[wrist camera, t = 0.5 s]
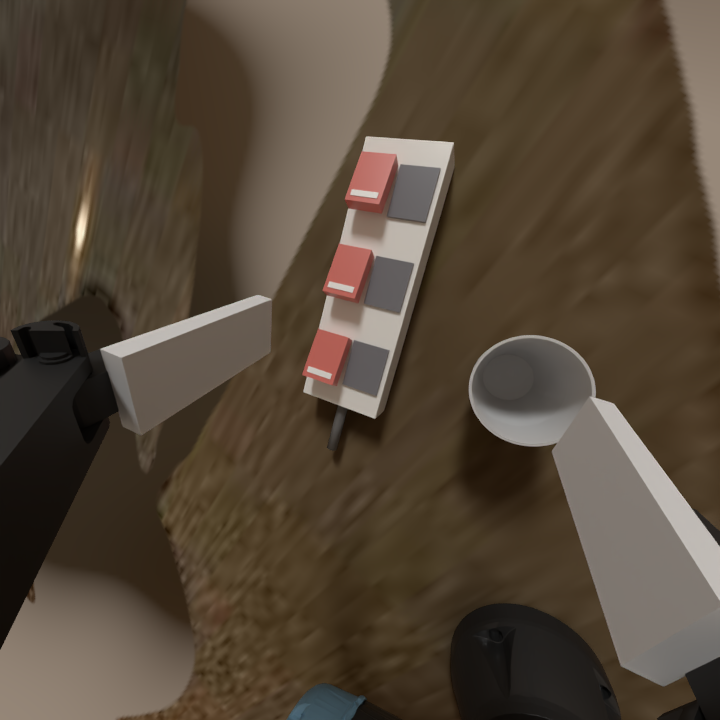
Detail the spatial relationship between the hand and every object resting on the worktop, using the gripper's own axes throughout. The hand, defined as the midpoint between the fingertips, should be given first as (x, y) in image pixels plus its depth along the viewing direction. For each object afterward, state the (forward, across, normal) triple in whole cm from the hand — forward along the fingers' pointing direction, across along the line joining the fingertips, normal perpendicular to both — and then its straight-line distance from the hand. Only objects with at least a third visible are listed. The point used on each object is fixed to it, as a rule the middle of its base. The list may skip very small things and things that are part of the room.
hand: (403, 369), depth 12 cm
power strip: (+22, +7, +6) cm, 24 cm away
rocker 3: (+15, +9, +10) cm, 20 cm away
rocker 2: (+18, +10, +1) cm, 20 cm away
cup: (+20, -9, +8) cm, 23 cm away
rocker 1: (+21, +10, -7) cm, 24 cm away
